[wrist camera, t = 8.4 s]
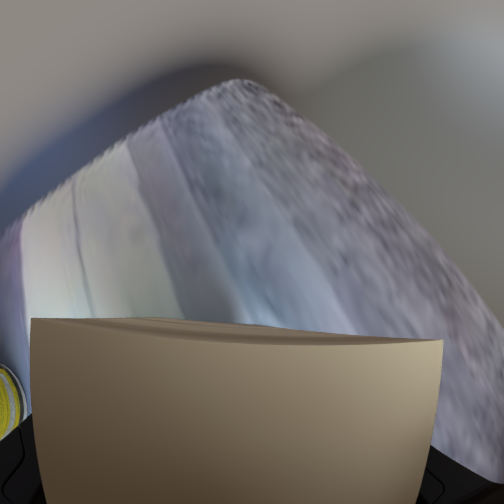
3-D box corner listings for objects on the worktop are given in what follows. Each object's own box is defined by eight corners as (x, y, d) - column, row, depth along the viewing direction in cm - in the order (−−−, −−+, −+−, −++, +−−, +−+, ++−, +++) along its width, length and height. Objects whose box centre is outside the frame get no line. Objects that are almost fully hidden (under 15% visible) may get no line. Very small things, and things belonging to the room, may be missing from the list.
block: (249, 417, 15) (379, 592, 3) (152, 411, 14) (85, 605, 2) (255, 324, 16) (443, 339, 4) (156, 316, 15) (31, 317, 3)
